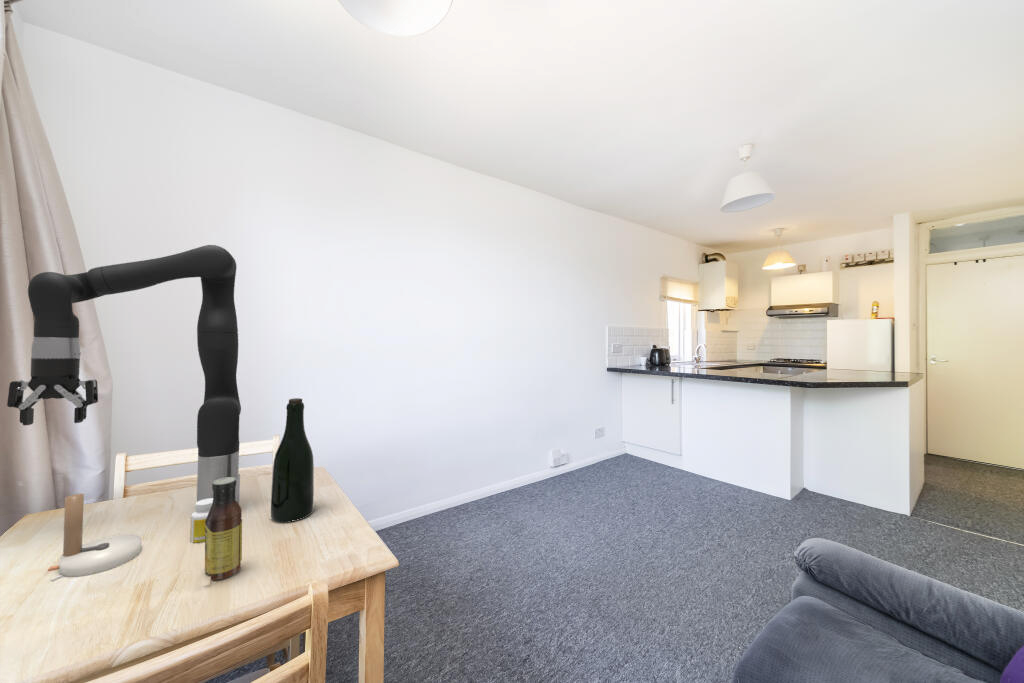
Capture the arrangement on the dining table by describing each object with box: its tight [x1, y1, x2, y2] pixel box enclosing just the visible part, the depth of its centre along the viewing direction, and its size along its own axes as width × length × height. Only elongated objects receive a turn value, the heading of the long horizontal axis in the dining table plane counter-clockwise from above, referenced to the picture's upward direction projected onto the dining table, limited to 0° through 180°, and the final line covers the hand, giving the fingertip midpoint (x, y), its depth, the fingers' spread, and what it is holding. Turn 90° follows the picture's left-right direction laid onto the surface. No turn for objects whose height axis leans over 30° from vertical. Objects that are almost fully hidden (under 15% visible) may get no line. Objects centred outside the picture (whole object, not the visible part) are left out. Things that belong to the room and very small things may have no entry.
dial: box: [58, 493, 142, 578], centre depth 82 cm, size 12×12×14 cm
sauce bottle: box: [204, 477, 243, 581], centre depth 80 cm, size 7×6×20 cm
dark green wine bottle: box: [270, 397, 315, 523], centre depth 107 cm, size 10×10×33 cm
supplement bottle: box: [189, 498, 213, 544], centre depth 92 cm, size 5×5×10 cm
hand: (54, 423), depth 91 cm, fingers open, 8 cm apart
